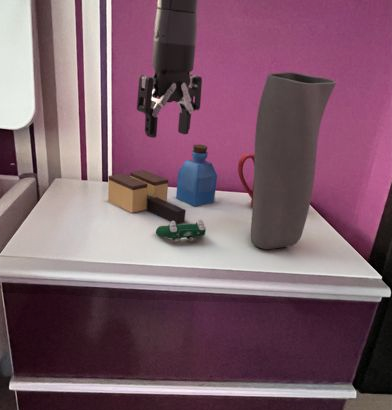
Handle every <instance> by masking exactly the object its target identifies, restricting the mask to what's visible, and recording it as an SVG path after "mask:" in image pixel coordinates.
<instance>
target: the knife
mask: <svg viewBox="0 0 392 410" xmlns="http://www.w3.org/2000/svg"><path fill="white" fill-rule="evenodd" d="M146 211H147V212H149V213H152V214H154V215H156V216H158V217H160V218H162V219H164V220H167V221H169V222H171V221H175V223H176V224H177V225H179V224H182V223H185V222H186V221H185V220H186V212H187V211H186V209H185V208H182V207H180V206H178V205H175V204H173V203H171V202H168V201H167V202H166V201H164V200H162V199H159V198H157V197H154V198H153V196H152V195H149V194H147V204H146Z"/></svg>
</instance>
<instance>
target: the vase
mask: <svg viewBox="0 0 392 410" xmlns="http://www.w3.org/2000/svg"><path fill="white" fill-rule="evenodd" d="M336 85H337V81H336V80H334V79H330V78H326V77H320V76H313V75H310V74H309V75H308V74H304V73H299V72H293V71H285V72H283V71H282V72H270V73H268V74H267V77H266V80H265V83H264V86H263V90H262V93H261V97H260V101H259V105H258V110H257V116H256V124H255V135H254V155H255V156H254V162H253V182H254V192H253V207H252V211H251V223H250V240H251V243H252V245H254V246H255V247H257V248H259V249H262V250H275V249H279V248H287V247H291V246H293V245H295V244H297V243H298V242H299V241H300V240H301V238H302V236H303V232H304V229H305V225H306V223H307V222H306V221H307V217H308V213H309V210H310V205H311V200H312V196H313V189H314V182H315V175H316V174H315V173H316V165H317V151H318V142H319V133H320V127H321V123H322V119H323V116H324V113H325V111H326V107H327V105H328V102H329V100H330V99H331V98H330V97H331V95H332V94H333V91H334V89H335V87H336Z"/></svg>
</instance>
